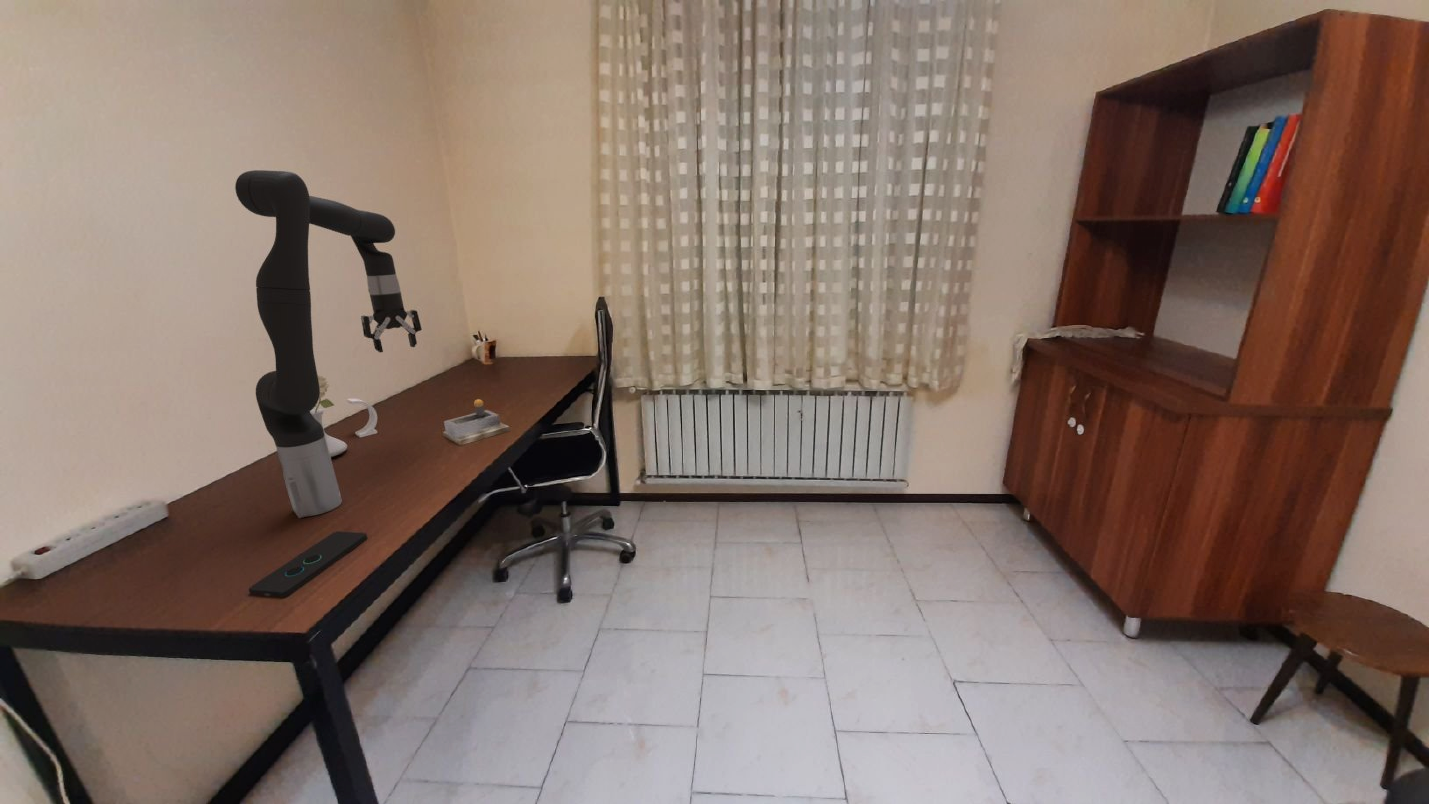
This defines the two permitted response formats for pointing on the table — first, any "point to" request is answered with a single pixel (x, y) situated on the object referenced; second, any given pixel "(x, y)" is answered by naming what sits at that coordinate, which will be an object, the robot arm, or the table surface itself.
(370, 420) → the headphone stand
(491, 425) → the steel link
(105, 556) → the table surface
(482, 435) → the beige plate with rod
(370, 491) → the table surface
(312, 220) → the robot arm
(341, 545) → the smart home device
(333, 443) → the flower in vase
